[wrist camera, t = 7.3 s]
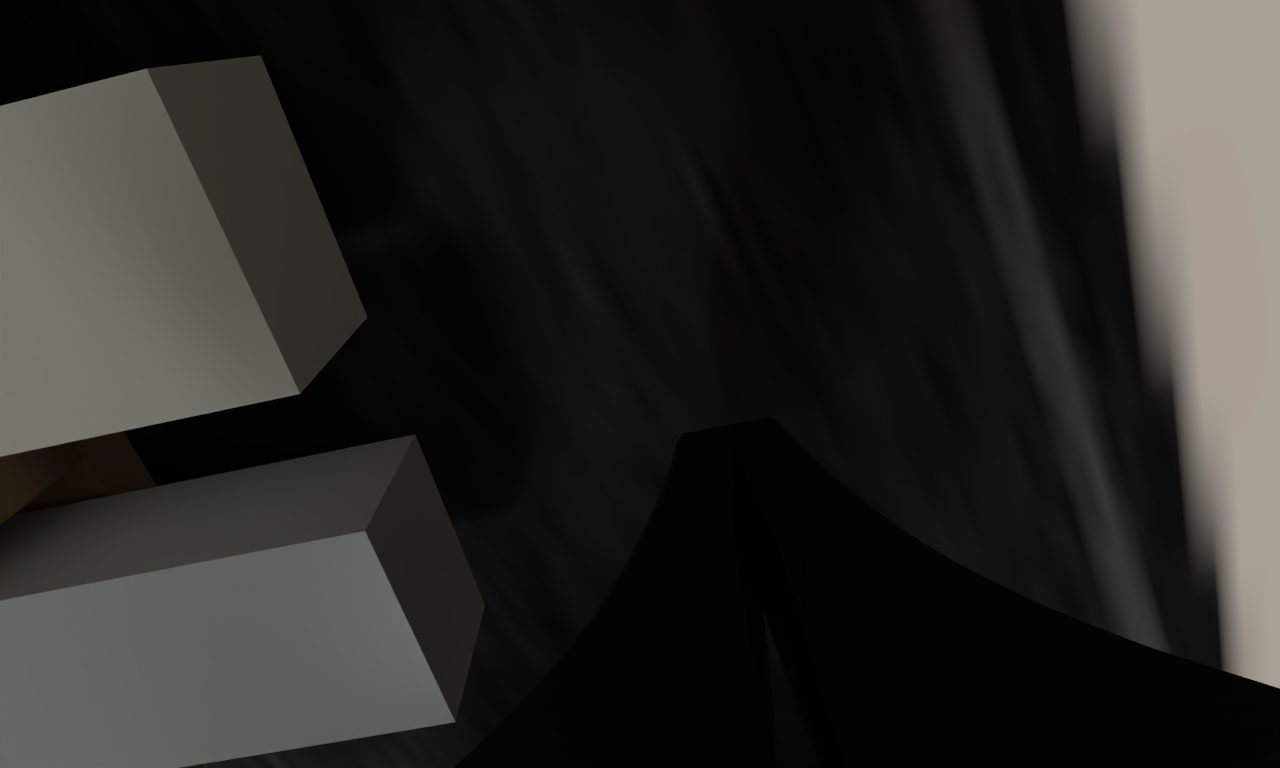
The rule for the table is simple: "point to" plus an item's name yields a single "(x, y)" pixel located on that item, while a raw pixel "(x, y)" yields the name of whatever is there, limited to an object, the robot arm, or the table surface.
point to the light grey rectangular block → (234, 614)
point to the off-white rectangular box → (159, 255)
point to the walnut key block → (71, 476)
